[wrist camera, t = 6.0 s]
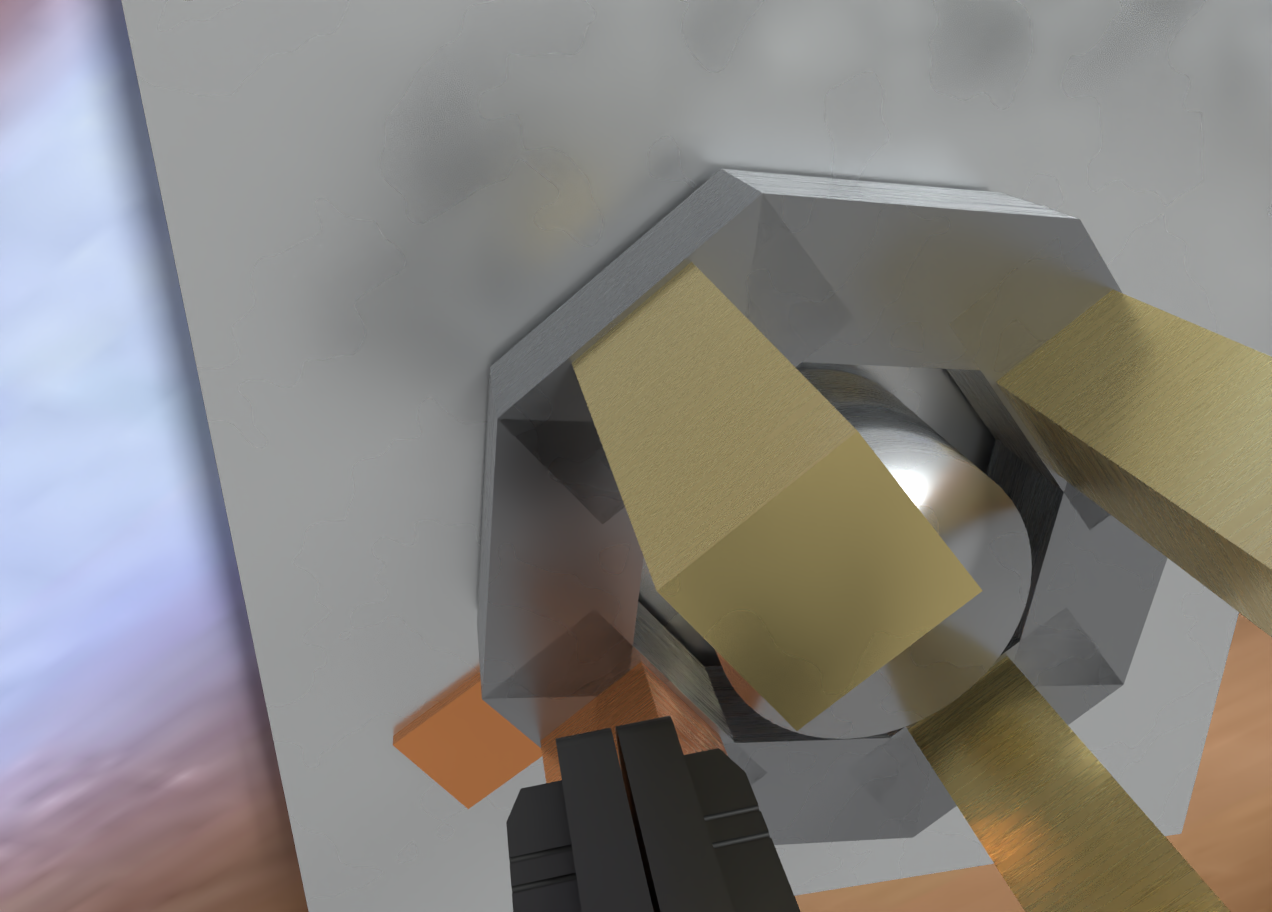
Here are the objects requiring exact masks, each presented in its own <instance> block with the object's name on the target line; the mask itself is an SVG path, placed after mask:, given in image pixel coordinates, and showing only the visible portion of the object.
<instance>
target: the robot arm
mask: <svg viewBox="0 0 1272 912" xmlns="http://www.w3.org/2000/svg"><path fill="white" fill-rule="evenodd" d="M615 732H616V740H617V747H618V754H619V760H618V755H617V751H616V747H615V742H614V738H613V734H612V730H611V728H606V729H601V730H596V731H591V732H586V733H581V734H576V735H571V736H566V737H561V738H556V746H557V752H558V759H559V765H560V772H561V779H562V780H560V781H555V782H550V783H545V784H540V785H536V786H531V787H526V788H521V789H520V791H519V794H518V796H517V798H516V801H515V803H514V805H513V808H512V810H511V813H510V815H509V817H508V820H507V822H506V825H507V838H508V851H509V860H510V877H511V888H512V903H513V912H800V909H799V907H798V904H797V901H796V899H795V896H794V894H793V891H792V889H791V886H790V884H789V881H788V879H787V876H786V874H785V871H784V868H783V866H782V863H781V861H780V858H779V856H778V853H777V851H776V848H775V846H774V843H773V841H772V838H770V835H769V830H768V828H767V825H766V823H765V820H764V818H763V815H762V813H761V811H760V810H759V806H758V802H757V800H756V797H755V795H754V792H753V790H752V787H751V785H750V782H749V780H748V777H747V774H746V772H745V771H744V770H742V769H741V768H740V767H739V766H738V765H737V764H736V763H735V762H734V761H733V760H731V759H730V758H729V757H728V756H727V755H726V754H725V753H724V752H723V751H722V750H721V749H719V748H716V749H711V750H706V751H701V752H696V753H691V754H686V755H684V754H683V751H682V748H681V745H680V742H679V739H678V736H677V732H676V729H675V726H674V723H673V720H672V718H671V716H665V717H660V718H655V719H650V720H645V721H640V722H635V723H630V724H625V725H620V726H615ZM619 761H620V764H619Z"/></svg>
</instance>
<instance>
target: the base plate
mask: <svg viewBox="0 0 1272 912" xmlns="http://www.w3.org/2000/svg"><path fill="white" fill-rule="evenodd" d="M121 1H122V6H123V11H124V16H125V21H126V26H127V31H128V36H129V40H130V45H131V50H132V55H133V60H134V65H135V70H136V74H137V79H138V84H139V89H140V94H141V99H142V104H143V109H144V113H145V118H146V123H147V128H148V133H149V138H150V143H151V147H152V152H153V157H154V162H155V167H156V172H157V177H158V181H159V186H160V191H161V196H162V201H163V206H164V211H165V216H166V220H167V225H168V230H169V235H170V240H171V245H172V250H173V254H174V259H175V264H176V269H177V274H178V279H179V284H180V289H181V293H182V298H183V303H184V308H185V313H186V318H187V323H188V327H189V332H190V337H191V342H192V347H193V352H194V357H195V362H196V366H197V371H198V376H199V381H200V386H201V391H202V396H203V400H204V405H205V410H206V415H207V420H208V425H209V430H210V434H211V439H212V444H213V449H214V454H215V459H216V464H217V469H218V473H219V478H220V483H221V488H222V493H223V498H224V503H225V507H226V512H227V517H228V522H229V527H230V532H231V537H232V542H233V546H234V551H235V556H236V561H237V566H238V571H239V576H240V580H241V585H242V590H243V595H244V600H245V605H246V610H247V615H248V619H249V624H250V629H251V634H252V639H253V644H254V649H255V653H256V658H257V663H258V668H259V673H260V678H261V683H262V687H263V692H264V697H265V702H266V707H267V712H268V717H269V722H270V726H271V731H272V736H273V741H274V746H275V751H276V756H277V760H278V765H279V770H280V775H281V780H282V785H283V790H284V795H285V799H286V804H287V809H288V814H289V819H290V824H291V829H292V833H293V838H294V843H295V848H296V853H297V858H298V863H299V868H300V872H301V877H302V882H303V887H304V892H305V897H306V902H307V906H308V911H309V912H513V903H512V888H511V877H510V860H509V851H508V838H507V825H506V822H507V820H508V817H509V815H510V813H511V810H512V808H513V805H514V803H515V801H516V798H517V796H518V794H519V791H520V789H521V788H526V787H531V786H536V785H540V784H545V783H546V778H545V771H544V764H543V757H542V750H541V748H540V747H539V746H538V745H536V744H535V743H534V742H533V741H532V740H530V739H529V738H528V737H527V736H526V735H524V734H523V733H522V732H521V731H520V730H518V729H517V728H516V727H515V726H514V725H512V724H511V723H510V722H509V721H508V720H506V719H505V718H504V717H503V716H502V715H500V714H499V713H498V712H497V711H496V710H494V709H493V708H492V707H491V706H490V705H488V704H487V703H486V702H485V701H484V700H482V694H481V678H480V663H479V647H478V632H477V612H478V592H479V572H480V553H481V533H482V513H483V493H484V474H485V454H486V434H487V415H488V395H489V375H490V366H492V365H493V364H494V363H495V362H496V361H497V360H499V359H500V358H501V357H502V356H503V355H504V354H506V353H507V352H508V351H509V350H510V349H511V348H513V347H514V346H515V345H516V344H517V343H518V342H519V341H521V340H522V339H523V338H524V337H525V336H526V335H528V334H529V333H530V332H531V331H532V330H533V329H535V328H536V327H537V326H538V325H539V324H540V323H542V322H543V321H544V320H545V319H546V318H547V317H549V316H550V315H551V314H552V313H553V312H554V311H556V310H557V309H558V308H559V307H560V306H561V305H563V304H564V303H565V302H566V301H567V300H568V299H570V298H571V297H572V296H573V295H574V294H575V293H577V292H578V291H579V290H580V289H581V288H582V287H584V286H585V285H586V284H587V283H588V282H589V281H591V280H592V279H593V278H594V277H595V276H596V275H597V274H599V273H600V272H601V271H602V270H603V269H604V268H606V267H607V266H608V265H609V264H610V263H611V262H613V261H614V260H615V259H616V258H617V257H618V256H620V255H621V254H622V253H623V252H624V251H625V250H627V249H628V248H629V247H630V246H631V245H632V244H634V243H635V242H636V241H637V240H638V239H639V238H641V237H642V236H643V235H644V234H645V233H646V232H648V231H649V230H650V229H651V228H652V227H653V226H655V225H656V224H657V223H658V222H659V221H660V220H662V219H663V218H664V217H665V216H666V215H667V214H668V213H670V212H671V211H672V210H673V209H674V208H675V207H677V206H678V205H679V204H680V203H681V202H682V201H684V200H685V199H686V198H687V197H688V196H689V195H691V194H692V193H693V192H694V191H695V190H696V189H698V188H699V187H700V186H701V185H702V184H703V183H705V182H706V181H707V180H708V179H709V178H710V177H712V176H713V175H714V174H715V173H716V172H717V171H719V170H720V169H729V170H741V171H753V172H764V173H776V174H788V175H800V176H811V177H823V178H835V179H847V180H858V181H870V182H882V183H894V184H905V185H917V186H929V187H941V188H952V189H964V190H976V191H987V192H999V193H1005V194H1008V195H1011V196H1014V197H1017V198H1020V199H1023V200H1026V201H1028V202H1031V203H1034V204H1037V205H1040V206H1043V207H1046V208H1049V209H1052V210H1055V211H1058V212H1061V213H1064V214H1067V215H1070V216H1073V217H1076V218H1079V219H1080V220H1081V222H1082V224H1083V225H1084V227H1085V229H1086V231H1087V232H1088V234H1089V236H1090V238H1091V239H1092V241H1093V243H1094V244H1095V246H1096V248H1097V250H1098V251H1099V253H1100V255H1101V257H1102V258H1103V260H1104V262H1105V264H1106V265H1107V267H1108V269H1109V271H1110V272H1111V274H1112V276H1113V277H1114V279H1115V281H1116V283H1117V284H1118V286H1119V288H1120V290H1121V291H1122V293H1123V294H1125V295H1127V296H1130V297H1132V298H1135V299H1137V300H1139V301H1142V302H1144V303H1146V304H1149V305H1151V306H1153V307H1156V308H1158V309H1160V310H1163V311H1165V312H1167V313H1170V314H1172V315H1175V316H1177V317H1179V318H1182V319H1184V320H1186V321H1189V322H1191V323H1193V324H1196V325H1198V326H1200V327H1203V328H1205V329H1207V330H1210V331H1212V332H1215V333H1217V334H1219V335H1222V336H1224V337H1226V338H1229V339H1231V340H1233V341H1236V342H1238V343H1240V344H1243V345H1245V346H1248V347H1250V348H1252V349H1255V350H1257V351H1259V352H1262V353H1264V354H1266V355H1269V356H1271V357H1272V0H121ZM795 368H796V369H797V370H798V371H799V372H800V373H801V374H802V375H803V376H804V377H805V378H806V379H807V380H808V381H809V382H810V383H811V384H812V385H813V386H814V387H815V388H816V389H817V390H818V391H819V392H820V393H821V394H822V395H823V396H824V397H825V398H826V399H827V400H828V401H829V402H830V403H831V404H832V405H833V406H834V407H835V408H836V409H837V410H838V411H839V412H840V413H841V414H842V415H843V417H844V418H845V419H846V420H847V421H848V422H849V423H850V424H851V425H852V426H853V427H854V428H855V429H856V430H857V431H858V432H859V433H860V435H861V436H862V437H863V438H864V440H865V441H866V442H867V444H868V445H869V446H870V447H871V449H872V450H873V451H874V452H875V454H876V455H877V456H878V458H879V459H880V460H881V461H882V463H883V464H884V465H885V467H886V468H887V469H888V470H889V472H890V473H891V474H892V475H893V477H894V478H895V479H896V481H897V482H898V483H899V484H900V486H901V487H902V488H903V490H904V491H905V492H906V493H907V495H908V496H909V497H910V498H911V500H912V501H913V502H914V504H915V505H916V506H917V507H918V509H919V510H920V511H921V513H922V514H923V515H924V516H925V518H926V519H927V520H928V521H929V523H930V524H931V525H932V527H933V528H934V529H935V530H936V532H937V533H938V534H939V536H940V537H941V538H942V539H943V541H944V542H945V543H946V544H947V546H948V547H949V548H950V550H951V551H952V552H953V553H954V555H955V556H956V557H957V559H958V560H959V561H960V562H961V564H962V565H963V566H964V567H965V569H966V570H967V571H968V573H969V574H970V575H971V576H972V578H973V579H974V580H975V582H976V583H977V584H978V585H979V587H980V588H981V589H982V590H983V591H982V592H980V593H979V594H978V595H976V596H975V597H974V598H973V599H971V600H970V601H969V602H967V603H966V604H965V605H963V606H962V607H961V608H959V609H958V610H957V611H955V612H954V613H953V614H951V615H950V616H949V617H947V618H946V619H945V620H943V621H942V622H941V623H940V624H938V625H937V626H936V627H934V628H933V629H932V630H930V631H929V632H928V633H926V634H925V635H924V636H922V637H921V638H920V639H918V640H917V641H916V642H914V643H913V644H912V645H910V646H909V647H908V648H906V649H905V650H904V651H903V652H901V653H900V654H899V655H897V656H896V657H895V658H893V659H892V660H891V661H889V662H888V663H887V664H885V665H884V666H883V667H881V668H880V669H879V670H877V671H876V672H875V673H873V674H872V675H871V676H869V677H868V678H867V679H866V680H864V681H863V682H862V683H860V684H859V685H858V686H856V687H855V688H854V689H852V690H851V691H850V692H848V693H847V694H846V695H844V696H843V697H842V698H840V699H839V700H838V701H836V702H835V703H834V704H833V705H831V706H830V707H829V708H827V709H826V710H825V711H823V712H822V713H821V714H819V715H818V716H817V717H815V718H814V719H813V720H811V721H810V722H809V723H807V724H806V725H805V726H803V727H802V728H801V729H799V730H798V731H796V730H795V729H794V728H793V727H792V726H791V725H790V724H789V723H788V722H787V721H786V720H785V719H784V718H783V717H782V716H781V715H780V714H779V713H778V712H777V711H776V710H775V709H774V708H773V707H772V706H771V705H770V704H769V703H768V702H767V701H766V700H765V699H764V698H763V697H762V696H761V695H760V694H759V693H758V692H757V691H756V690H755V689H754V688H753V687H752V686H751V685H750V684H749V683H748V682H747V681H746V680H745V679H744V678H743V677H742V676H741V675H740V674H739V673H738V672H737V671H736V670H735V669H734V668H733V667H732V666H731V665H730V664H729V663H728V662H727V661H726V660H725V659H724V658H723V657H722V656H721V655H720V654H719V653H718V652H717V651H716V650H715V649H714V648H713V647H712V646H711V645H710V644H709V643H708V642H707V641H706V640H705V639H704V638H703V637H702V636H701V635H700V634H699V633H698V632H697V631H696V630H695V629H694V628H693V627H692V626H691V625H690V624H689V623H688V622H687V621H686V620H685V619H684V618H683V617H682V616H681V615H680V614H679V613H678V612H677V611H676V610H675V609H674V608H673V607H672V606H671V605H670V604H669V603H668V602H667V601H666V600H665V599H664V598H663V597H662V596H661V595H660V594H659V593H658V592H657V591H656V588H655V585H654V583H653V580H652V577H651V575H650V572H649V569H648V567H647V564H646V561H645V559H644V558H643V566H642V574H641V582H640V591H639V599H638V602H639V603H641V604H642V605H643V606H644V607H645V608H646V609H647V610H648V611H649V612H650V613H651V614H652V615H653V616H654V617H655V618H656V619H657V620H658V621H659V622H660V623H661V624H662V625H663V626H664V627H665V628H666V629H667V630H668V631H669V632H670V633H671V634H672V635H673V636H674V637H675V638H676V639H677V640H678V641H679V642H680V643H681V644H682V645H683V646H684V647H685V648H686V649H687V650H688V651H689V652H690V653H691V654H692V655H693V656H695V657H696V658H697V659H698V660H699V661H700V662H701V663H702V664H703V665H704V666H722V668H723V670H724V672H725V675H726V677H727V678H728V680H729V682H730V683H731V685H732V687H733V688H734V690H735V691H736V692H737V693H738V695H739V696H740V697H741V698H742V699H743V700H744V702H745V703H746V704H747V705H749V706H750V707H751V708H752V709H753V710H754V711H756V712H757V713H758V714H759V715H761V716H762V717H764V718H766V719H767V720H769V721H771V722H772V723H774V724H776V725H778V726H781V727H783V728H785V729H788V730H790V731H793V732H797V733H800V734H804V735H807V736H814V737H821V738H834V739H849V738H861V737H868V736H873V735H878V734H884V733H887V732H890V731H894V730H897V729H900V728H903V727H906V726H908V725H911V724H913V723H915V722H918V721H920V720H922V719H924V718H926V717H928V716H930V715H932V714H934V713H936V712H937V711H939V710H941V709H942V708H944V707H945V706H947V705H948V704H950V703H951V702H953V701H954V700H956V699H957V698H959V697H960V696H961V695H962V694H963V693H965V692H966V691H967V690H968V689H970V688H971V687H972V686H973V685H974V684H975V683H976V682H977V681H978V680H979V679H980V678H981V677H982V676H983V675H984V674H985V673H986V672H987V671H988V670H989V669H990V667H991V666H992V665H993V664H994V663H995V661H996V660H997V659H998V658H999V657H1000V655H1001V654H1002V652H1003V650H1004V649H1005V647H1006V646H1007V644H1008V643H1009V641H1010V640H1011V638H1012V636H1013V634H1014V632H1015V630H1016V628H1017V626H1018V624H1019V622H1020V619H1021V617H1022V614H1023V611H1024V608H1025V606H1026V602H1027V598H1028V594H1029V589H1030V583H1031V572H1032V560H1031V548H1030V543H1029V538H1028V533H1027V530H1026V528H1025V525H1024V523H1023V520H1022V517H1021V515H1020V513H1019V512H1018V510H1017V508H1016V507H1015V505H1014V503H1013V502H1012V500H1011V499H1010V498H1009V497H1008V495H1007V494H1006V493H1005V492H1004V491H1003V489H1002V488H1001V487H1000V486H999V485H998V484H996V483H995V482H994V481H993V480H992V479H991V478H989V477H988V476H987V475H986V474H987V471H988V467H989V463H990V459H991V455H992V451H993V447H994V444H995V440H996V439H995V437H994V436H993V435H992V433H991V432H990V430H989V429H988V428H987V426H986V425H985V423H984V422H983V420H982V419H981V418H980V416H979V415H978V413H977V412H976V410H975V409H974V408H973V406H972V405H971V403H970V402H969V401H968V399H967V398H966V396H965V395H964V393H963V392H962V391H961V389H960V388H959V386H958V385H957V383H956V382H955V381H954V379H953V378H952V376H951V375H950V373H949V372H948V371H947V369H938V368H916V367H894V366H873V365H851V364H830V363H808V362H801V363H800V364H799V365H798V366H796V367H795ZM1238 614H1239V612H1238V611H1237V610H1235V609H1234V608H1233V607H1231V606H1230V605H1229V604H1228V603H1226V602H1225V601H1224V600H1222V599H1221V598H1220V597H1218V596H1217V595H1216V594H1214V593H1213V592H1212V591H1210V590H1209V589H1208V588H1206V587H1205V586H1204V585H1203V584H1201V583H1200V582H1199V581H1197V580H1196V579H1195V578H1193V577H1192V576H1191V575H1189V574H1188V573H1187V572H1185V571H1184V570H1183V569H1182V568H1180V567H1179V566H1178V565H1176V564H1175V563H1174V562H1172V561H1171V560H1170V559H1168V558H1167V561H1166V564H1165V567H1164V569H1163V572H1162V575H1161V578H1160V581H1159V584H1158V587H1157V590H1156V593H1155V595H1154V598H1153V601H1152V604H1151V607H1150V610H1149V613H1148V616H1147V619H1146V621H1145V624H1144V627H1143V630H1142V633H1141V636H1140V639H1139V642H1138V645H1137V647H1136V650H1135V653H1134V656H1133V659H1132V662H1131V665H1130V668H1129V671H1128V673H1127V676H1126V679H1125V682H1124V685H1123V686H1121V687H1120V688H1118V689H1117V690H1116V691H1114V692H1113V693H1112V694H1110V695H1109V696H1107V697H1106V698H1105V699H1103V700H1102V701H1101V702H1099V703H1098V704H1096V705H1095V706H1094V707H1092V708H1091V709H1090V710H1088V711H1087V712H1085V713H1084V714H1083V715H1081V716H1080V717H1079V718H1077V719H1076V720H1074V721H1073V722H1072V723H1070V724H1069V725H1068V726H1069V727H1070V728H1071V729H1072V731H1073V732H1074V733H1075V734H1076V735H1077V736H1078V738H1079V739H1080V740H1081V741H1082V742H1083V743H1084V744H1085V746H1086V747H1087V748H1088V749H1089V750H1090V751H1091V752H1092V754H1093V755H1094V756H1095V757H1096V758H1097V759H1098V760H1099V762H1100V763H1101V764H1102V765H1103V766H1104V767H1105V768H1106V770H1107V771H1108V772H1109V773H1110V774H1111V775H1112V776H1113V778H1114V779H1115V780H1116V781H1117V782H1118V783H1119V784H1120V786H1121V787H1122V788H1123V789H1124V790H1125V791H1126V793H1127V794H1128V795H1129V796H1130V797H1131V798H1132V799H1133V801H1134V802H1135V803H1136V804H1137V805H1138V806H1139V807H1140V809H1141V810H1142V811H1143V812H1144V813H1145V814H1146V815H1147V817H1148V818H1149V819H1150V820H1151V821H1152V822H1153V823H1154V825H1155V826H1156V827H1157V828H1158V829H1159V830H1160V831H1161V833H1162V834H1163V835H1164V836H1168V835H1175V834H1181V833H1182V829H1183V825H1184V821H1185V817H1186V814H1187V810H1188V806H1189V802H1190V798H1191V794H1192V791H1193V787H1194V783H1195V779H1196V775H1197V771H1198V767H1199V764H1200V760H1201V756H1202V752H1203V748H1204V744H1205V741H1206V737H1207V733H1208V729H1209V725H1210V721H1211V718H1212V714H1213V710H1214V706H1215V702H1216V698H1217V695H1218V691H1219V687H1220V683H1221V679H1222V675H1223V672H1224V668H1225V664H1226V660H1227V656H1228V652H1229V648H1230V645H1231V641H1232V637H1233V633H1234V629H1235V625H1236V622H1237V618H1238ZM774 846H775V848H776V851H777V853H778V856H779V858H780V861H781V863H782V866H783V868H784V871H785V874H786V876H787V879H788V881H789V884H790V886H791V889H792V891H793V894H794V896H795V895H801V894H807V893H814V892H820V891H826V890H832V889H838V888H845V887H851V886H857V885H863V884H870V883H876V882H882V881H888V880H894V879H901V878H907V877H913V876H919V875H926V874H932V873H938V872H944V871H950V870H957V869H963V868H969V867H975V866H982V865H988V864H994V862H993V861H992V859H991V858H990V856H989V855H988V853H987V852H986V850H985V848H984V847H983V845H982V844H981V842H980V841H979V839H978V838H977V836H976V835H975V833H974V831H973V830H972V828H971V827H970V825H969V824H968V822H967V821H966V819H965V818H964V816H963V814H962V813H961V811H960V810H959V808H958V807H957V806H956V807H955V808H953V809H952V810H950V811H949V812H948V813H946V814H945V815H944V816H942V817H941V818H939V819H938V820H937V821H935V822H934V823H933V824H931V825H930V826H928V827H927V828H926V829H924V830H923V831H922V832H920V833H919V834H917V835H916V836H915V837H913V838H896V839H878V840H859V841H841V842H822V843H804V844H785V845H774Z"/></svg>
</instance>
